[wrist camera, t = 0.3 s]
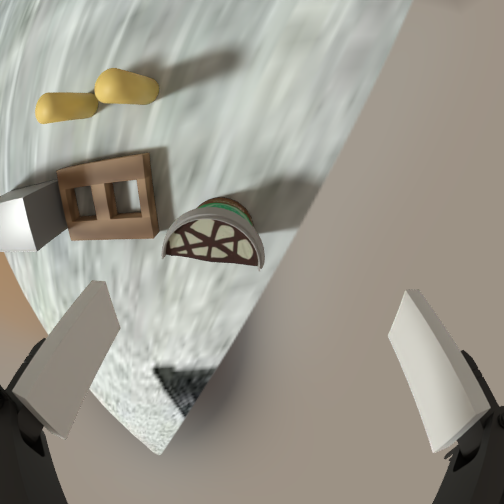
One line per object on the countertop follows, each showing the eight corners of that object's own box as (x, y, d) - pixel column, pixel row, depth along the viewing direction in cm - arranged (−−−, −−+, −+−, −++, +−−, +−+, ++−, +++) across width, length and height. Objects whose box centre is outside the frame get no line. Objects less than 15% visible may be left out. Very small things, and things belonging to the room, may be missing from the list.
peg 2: (132, 80, 29) (94, 73, 20) (158, 75, 29) (125, 64, 20) (133, 107, 31) (95, 106, 22) (159, 102, 31) (126, 98, 22)
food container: (270, 194, 37) (273, 220, 28) (263, 235, 40) (264, 272, 31) (181, 185, 36) (156, 207, 28) (180, 225, 39) (157, 258, 30)
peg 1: (77, 96, 30) (35, 98, 21) (97, 90, 30) (55, 88, 21) (78, 120, 32) (36, 127, 23) (98, 115, 31) (56, 119, 22)
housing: (10, 191, 36) (-24, 209, 27) (61, 178, 36) (22, 197, 27) (19, 229, 40) (-11, 251, 31) (71, 225, 40) (36, 251, 31)
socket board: (65, 167, 35) (56, 170, 33) (149, 152, 34) (142, 155, 32) (78, 234, 40) (71, 240, 38) (159, 231, 40) (153, 238, 38)
